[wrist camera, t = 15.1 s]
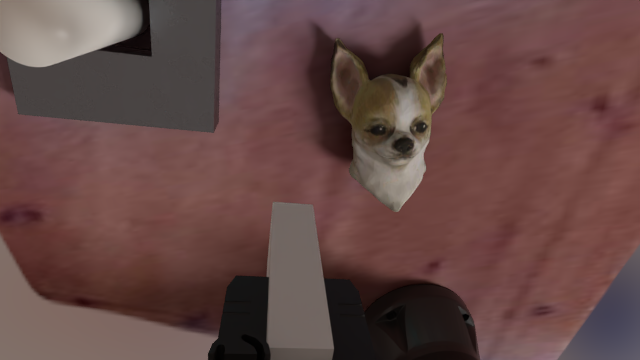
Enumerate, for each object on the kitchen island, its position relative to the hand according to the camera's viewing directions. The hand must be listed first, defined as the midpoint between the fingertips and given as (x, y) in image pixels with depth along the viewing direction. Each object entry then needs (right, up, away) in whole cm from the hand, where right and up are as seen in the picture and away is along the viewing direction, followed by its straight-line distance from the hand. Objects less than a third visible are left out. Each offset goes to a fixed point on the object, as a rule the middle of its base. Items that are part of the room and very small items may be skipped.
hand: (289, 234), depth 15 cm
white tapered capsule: (-15, +16, +18) cm, 29 cm away
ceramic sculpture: (+7, +9, +24) cm, 27 cm away
